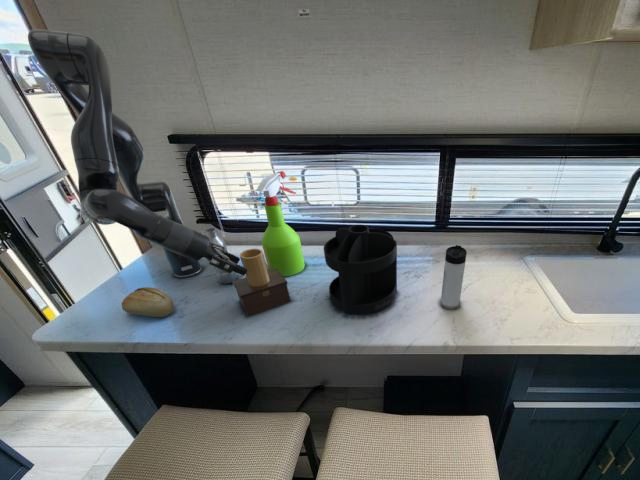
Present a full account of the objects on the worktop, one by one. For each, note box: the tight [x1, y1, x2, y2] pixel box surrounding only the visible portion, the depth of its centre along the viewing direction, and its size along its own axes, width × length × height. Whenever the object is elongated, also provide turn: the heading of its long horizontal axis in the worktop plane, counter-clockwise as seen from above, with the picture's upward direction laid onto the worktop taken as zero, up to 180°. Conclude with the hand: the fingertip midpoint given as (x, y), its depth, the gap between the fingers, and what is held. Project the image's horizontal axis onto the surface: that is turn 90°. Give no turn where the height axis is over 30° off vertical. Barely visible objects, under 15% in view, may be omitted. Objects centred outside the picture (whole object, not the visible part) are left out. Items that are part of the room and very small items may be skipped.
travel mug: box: [440, 244, 468, 310], centre depth 100 cm, size 6×7×20 cm
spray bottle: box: [255, 170, 306, 278], centre depth 116 cm, size 14×18×35 cm
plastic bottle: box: [203, 227, 238, 284], centre depth 110 cm, size 6×7×20 cm
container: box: [323, 224, 398, 316], centre depth 101 cm, size 22×23×25 cm
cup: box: [239, 248, 270, 287], centre depth 98 cm, size 6×6×10 cm
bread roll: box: [121, 286, 175, 318], centre depth 98 cm, size 10×15×8 cm, turn 86°
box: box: [231, 268, 291, 317], centre depth 103 cm, size 11×14×8 cm
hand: (242, 266), depth 95 cm, fingers open, 8 cm apart
